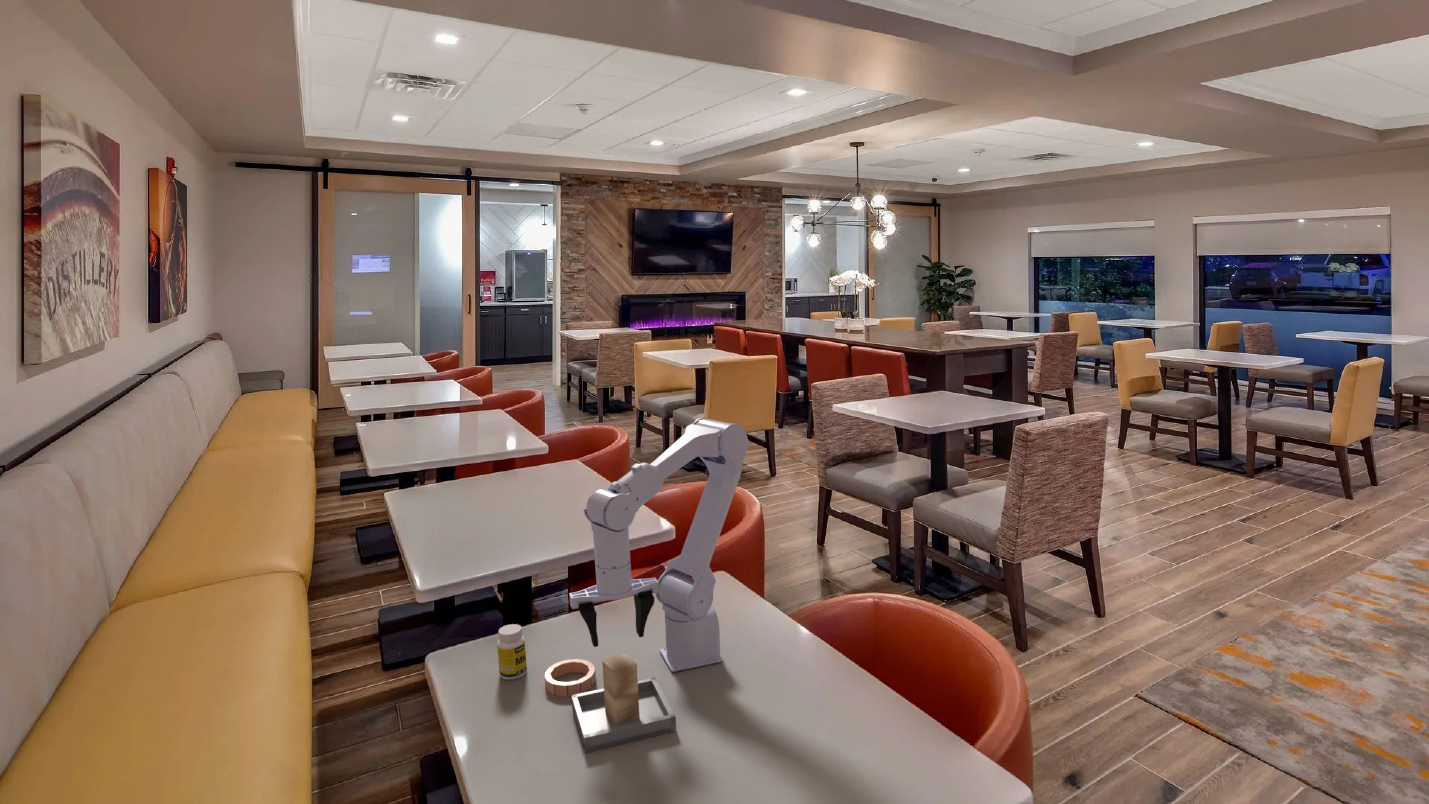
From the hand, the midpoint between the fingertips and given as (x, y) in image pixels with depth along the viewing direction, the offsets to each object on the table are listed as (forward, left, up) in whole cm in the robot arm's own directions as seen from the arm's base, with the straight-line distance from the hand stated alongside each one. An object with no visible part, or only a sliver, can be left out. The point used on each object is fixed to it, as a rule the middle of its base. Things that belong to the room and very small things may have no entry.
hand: (617, 639), depth 125 cm
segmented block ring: (+8, -6, -9) cm, 13 cm away
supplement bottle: (+17, -13, -10) cm, 23 cm away
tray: (+2, +8, -9) cm, 13 cm away
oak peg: (+2, +8, -9) cm, 12 cm away
